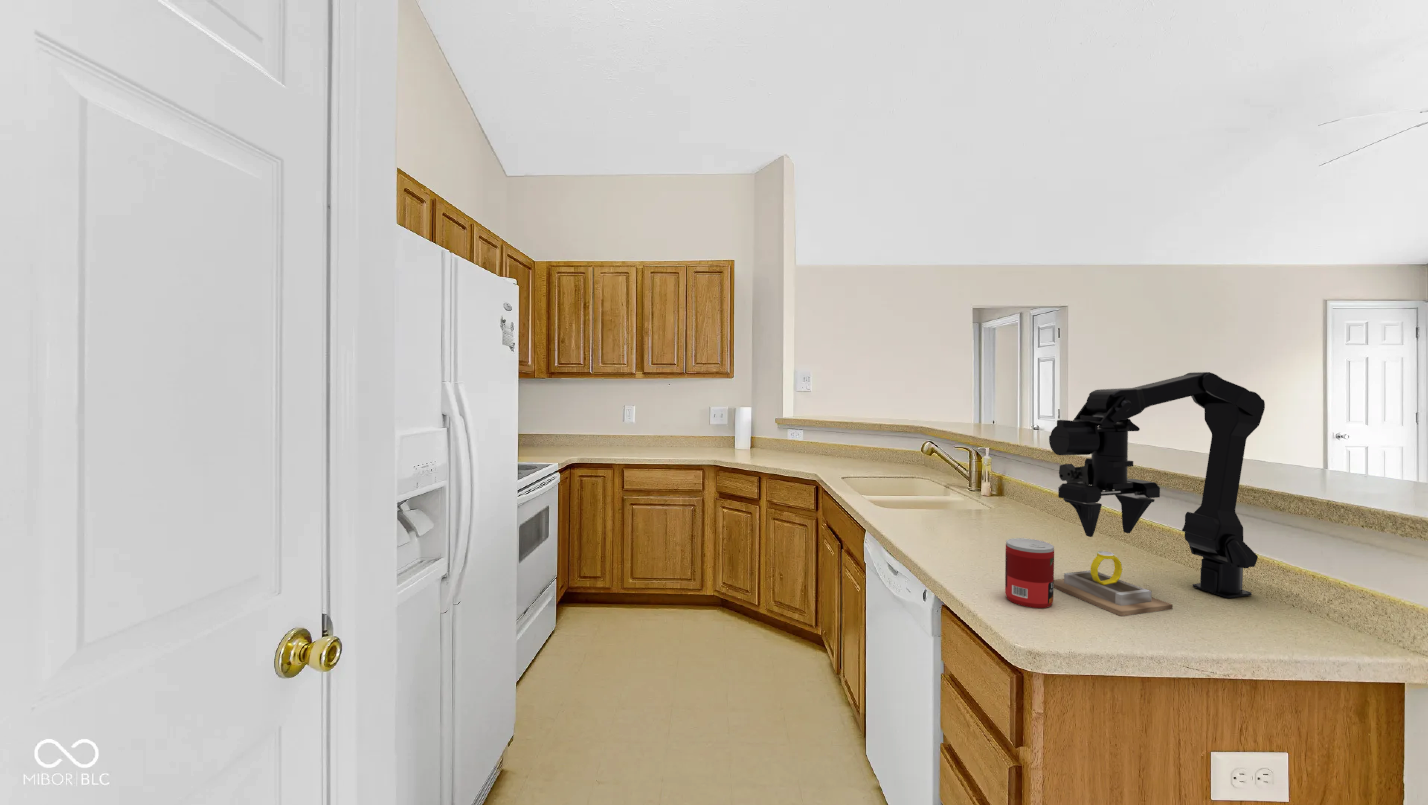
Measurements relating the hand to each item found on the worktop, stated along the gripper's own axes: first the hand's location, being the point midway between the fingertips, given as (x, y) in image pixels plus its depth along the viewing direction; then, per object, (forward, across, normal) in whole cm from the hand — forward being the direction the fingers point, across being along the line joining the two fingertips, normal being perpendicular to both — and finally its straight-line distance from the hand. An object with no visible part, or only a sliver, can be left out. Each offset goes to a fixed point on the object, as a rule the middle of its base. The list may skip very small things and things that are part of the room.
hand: (1108, 534), depth 108 cm
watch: (+9, +1, +1) cm, 9 cm away
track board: (+12, +1, 0) cm, 12 cm away
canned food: (+12, +17, -2) cm, 21 cm away
